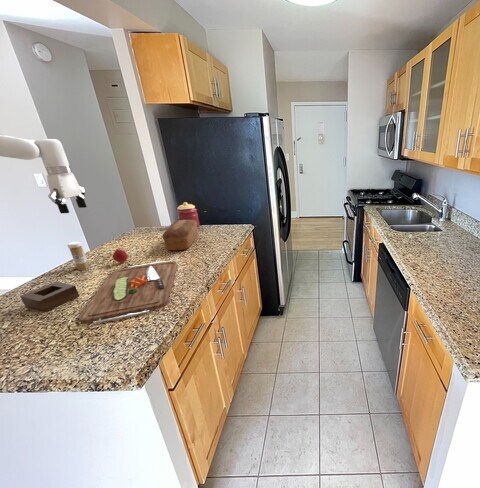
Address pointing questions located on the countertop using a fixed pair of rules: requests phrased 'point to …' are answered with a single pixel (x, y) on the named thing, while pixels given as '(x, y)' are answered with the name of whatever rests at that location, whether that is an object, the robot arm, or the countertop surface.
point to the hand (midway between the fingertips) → (74, 210)
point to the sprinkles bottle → (78, 255)
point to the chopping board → (131, 292)
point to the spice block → (49, 296)
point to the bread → (180, 235)
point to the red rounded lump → (120, 255)
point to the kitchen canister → (188, 212)
